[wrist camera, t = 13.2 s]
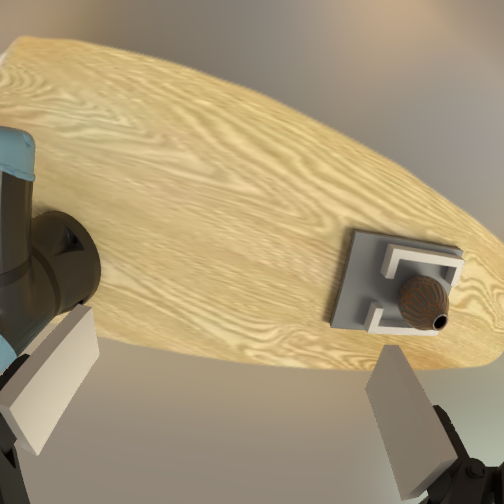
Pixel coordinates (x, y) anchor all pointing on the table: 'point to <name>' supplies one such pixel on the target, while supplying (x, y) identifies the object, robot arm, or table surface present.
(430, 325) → the vase
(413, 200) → the table surface
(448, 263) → the board
